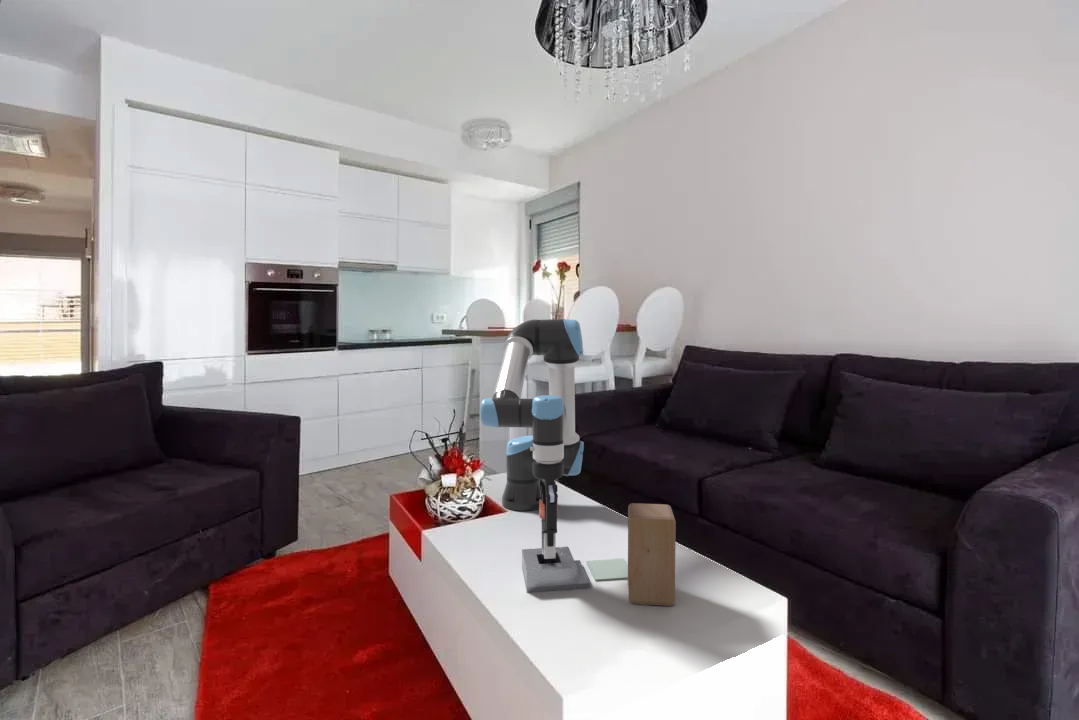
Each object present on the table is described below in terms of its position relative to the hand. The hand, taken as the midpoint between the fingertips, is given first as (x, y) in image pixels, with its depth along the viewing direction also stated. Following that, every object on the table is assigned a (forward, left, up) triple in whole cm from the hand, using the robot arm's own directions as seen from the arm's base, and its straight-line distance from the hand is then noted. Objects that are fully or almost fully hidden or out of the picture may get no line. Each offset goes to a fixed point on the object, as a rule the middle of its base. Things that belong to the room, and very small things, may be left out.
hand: (548, 553), depth 126 cm
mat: (-2, +16, -6) cm, 17 cm away
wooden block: (+11, +22, -6) cm, 25 cm away
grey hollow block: (0, +1, -6) cm, 6 cm away
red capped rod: (0, 0, -5) cm, 5 cm away
